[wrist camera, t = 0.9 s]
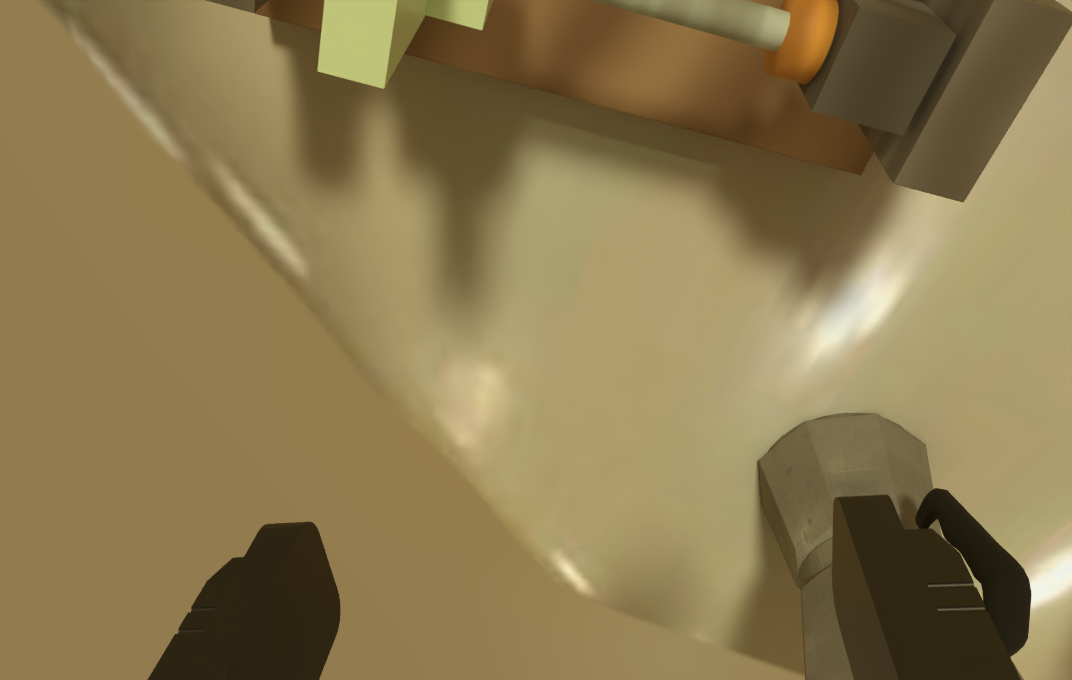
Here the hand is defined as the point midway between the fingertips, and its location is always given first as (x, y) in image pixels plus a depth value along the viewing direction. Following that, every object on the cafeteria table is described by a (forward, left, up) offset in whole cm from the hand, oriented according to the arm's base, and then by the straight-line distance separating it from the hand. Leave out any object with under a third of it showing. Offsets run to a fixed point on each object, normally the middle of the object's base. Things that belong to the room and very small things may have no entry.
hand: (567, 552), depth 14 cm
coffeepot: (+20, -18, -27) cm, 38 cm away
